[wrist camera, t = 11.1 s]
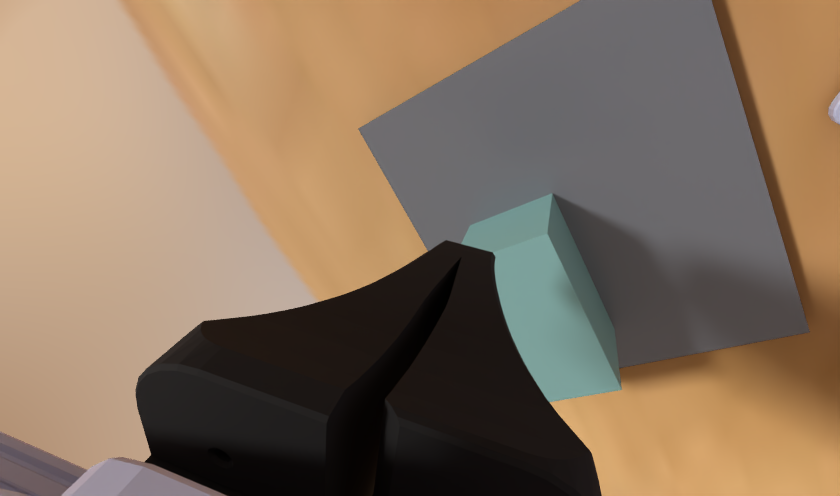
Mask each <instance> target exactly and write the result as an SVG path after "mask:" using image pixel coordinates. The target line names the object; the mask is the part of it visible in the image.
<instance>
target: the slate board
mask: <svg viewBox="0 0 840 496" xmlns="http://www.w3.org/2000/svg"><path fill="white" fill-rule="evenodd" d="M359 131H360V133H361V135H362V136H363V138H364V140H365V142H366V143H367V145H368V147H369V149H370V150H371V152H372V154H373V156H374V157H375V159H376V161H377V163H378V164H379V166H380V168H381V170H382V171H383V173H384V175H385V177H386V178H387V180H388V182H389V184H390V185H391V187H392V189H393V191H394V192H395V194H396V196H397V198H398V199H399V201H400V203H401V205H402V206H403V208H404V210H405V212H406V213H407V215H408V217H409V219H410V220H411V222H412V224H413V226H414V227H415V229H416V231H417V233H418V234H419V236H420V238H421V240H422V241H423V243H424V245H425V247H426V248H427V250H428V251H429V250H431V249H432V248H434V247H435V246H437V245H438V244H440V243H442V242H443V241H445V240H448V241H452V242H455V243H459V244H461V243H462V241H463V239H464V237H465V235H466V233H467V231H468V229H469V226H470V225H472V224H475V223H477V222H480V221H483V220H485V219H488V218H490V217H493V216H495V215H498V214H500V213H503V212H506V211H508V210H511V209H513V208H516V207H518V206H521V205H523V204H526V203H529V202H531V201H534V200H536V199H539V198H541V197H544V196H546V195H549V194H553V196H554V198H555V200H556V202H557V204H558V207H559V209H560V211H561V213H562V215H563V217H564V220H565V222H566V224H567V226H568V228H569V231H570V233H571V235H572V237H573V239H574V241H575V244H576V246H577V248H578V250H579V252H580V255H581V257H582V259H583V261H584V263H585V265H586V268H587V270H588V272H589V274H590V276H591V279H592V281H593V283H594V285H595V287H596V289H597V292H598V294H599V296H600V298H601V300H602V303H603V305H604V307H605V309H606V311H607V313H608V316H609V318H610V320H611V322H612V324H613V327H614V329H615V337H616V345H617V354H618V362H619V368H623V367H628V366H634V365H639V364H644V363H649V362H655V361H660V360H665V359H671V358H676V357H681V356H686V355H692V354H697V353H702V352H708V351H713V350H718V349H724V348H729V347H734V346H739V345H745V344H750V343H755V342H761V341H766V340H771V339H777V338H782V337H787V336H792V335H798V334H803V333H808V332H810V331H809V327H808V324H807V321H806V317H805V314H804V311H803V307H802V304H801V300H800V297H799V294H798V290H797V287H796V284H795V280H794V277H793V273H792V270H791V267H790V263H789V260H788V257H787V253H786V250H785V246H784V243H783V240H782V236H781V233H780V230H779V226H778V223H777V220H776V216H775V213H774V209H773V206H772V203H771V199H770V196H769V193H768V189H767V186H766V182H765V179H764V176H763V172H762V169H761V166H760V162H759V159H758V155H757V152H756V149H755V145H754V142H753V139H752V135H751V132H750V128H749V125H748V122H747V118H746V115H745V112H744V108H743V105H742V101H741V98H740V95H739V91H738V88H737V85H736V81H735V78H734V75H733V71H732V68H731V64H730V61H729V58H728V54H727V51H726V48H725V44H724V41H723V37H722V34H721V31H720V27H719V24H718V21H717V17H716V14H715V10H714V7H713V4H712V0H580V1H579V2H577V3H575V4H574V5H572V6H570V7H568V8H567V9H565V10H563V11H561V12H560V13H558V14H556V15H554V16H553V17H551V18H549V19H548V20H546V21H544V22H542V23H541V24H539V25H537V26H535V27H534V28H532V29H530V30H528V31H527V32H525V33H523V34H522V35H520V36H518V37H516V38H515V39H513V40H511V41H509V42H508V43H506V44H504V45H502V46H501V47H499V48H497V49H496V50H494V51H492V52H490V53H489V54H487V55H485V56H483V57H482V58H480V59H478V60H476V61H475V62H473V63H471V64H470V65H468V66H466V67H464V68H463V69H461V70H459V71H457V72H456V73H454V74H452V75H450V76H449V77H447V78H445V79H444V80H442V81H440V82H438V83H437V84H435V85H433V86H431V87H430V88H428V89H426V90H424V91H423V92H421V93H419V94H418V95H416V96H414V97H412V98H411V99H409V100H407V101H405V102H404V103H402V104H400V105H398V106H397V107H395V108H393V109H392V110H390V111H388V112H386V113H385V114H383V115H381V116H379V117H378V118H376V119H374V120H372V121H371V122H369V123H367V124H366V125H364V126H362V127H360V128H359Z"/></svg>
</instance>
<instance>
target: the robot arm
mask: <svg viewBox="0 0 840 496" xmlns="http://www.w3.org/2000/svg"><path fill="white" fill-rule="evenodd" d="M828 115H829V117H830V119H831V120H832V121H834V122H835V123H837V124H839V125H840V92H839V93H838V95H837V96H836V97H835V98H834V100H833V101H832V103H831V105H830V107H829V112H828ZM495 258H496V257H495V255H494V254H493V252H490V251H486V250H482V249H478V248H474V247H471V246H467V245H463V244H459V243H455V242H452V241H448V240H445V241H443V242H442V243H440V244H438V245H437V246H435V247H434V248H432V249H431V250H429V251H428V252H426V253H425V254H423V255H422V256H420V257H419V258H417V259H415V260H414V261H412V262H411V263H409V264H407V265H406V266H404V267H402V268H401V269H399V270H397V271H395V272H393V273H391V274H390V275H388V276H386V277H384V278H382V279H380V280H378V281H376V282H374V283H372V284H369V285H367V286H365V287H362V288H360V289H357V290H355V291H352V292H349V293H347V294H344V295H341V296H338V297H334V298H331V299H328V300H324V301H321V302H317V303H314V304H310V305H307V306H303V307H298V308H294V309H289V310H285V311H279V312H274V313H269V314H262V315H256V316H247V317H239V318H229V319H220V320H210V321H204V322H202V323H201V324H199V325H198V326H197V327H195V328H194V329H193V330H192V331H191V332H189V333H188V334H187V335H186V336H185V337H183V338H182V339H181V340H180V341H179V342H177V343H176V344H175V345H174V346H173V347H172V348H170V349H169V350H168V351H167V352H166V353H165V354H163V355H162V356H161V357H160V358H159V359H157V360H156V361H155V362H154V363H153V364H152V365H150V366H149V367H148V368H147V369H146V370H145V371H144V372H143V373H142V374H141V375H140V376H139V378H138V382H137V386H136V400H137V407H138V411H139V415H140V417H141V421H142V425H143V428H144V431H145V435H146V438H147V441H148V445H149V448H150V452H151V456H150V457H149V458H148V459H147V460H146V461H145V462H141V461H137V460H132V459H128V458H124V457H118V458H109V459H107V460H105V461H103V462H101V463H98V464H96V465H94V466H92V467H91V468H90V469H88V470H86V469H84V468H82V467H80V466H77V465H75V464H73V463H70V462H68V461H66V460H64V459H61V458H59V457H57V456H54V455H52V454H50V453H48V452H45V451H43V450H41V449H39V448H36V447H34V446H32V445H30V444H27V443H25V442H23V441H21V440H18V439H16V438H14V437H11V436H9V435H7V434H5V433H2V432H0V496H601V490H600V485H599V480H598V476H597V472H596V468H595V464H594V460H593V457H592V454H591V452H590V450H589V449H588V448H587V447H586V446H585V445H584V443H583V442H582V441H581V440H580V439H579V438H578V437H577V435H576V434H575V433H574V432H573V431H572V430H571V429H570V427H569V426H568V425H567V424H566V423H565V422H564V421H563V419H562V418H561V417H560V416H559V415H558V413H557V412H556V411H555V409H554V408H553V407H552V405H551V404H550V403H549V401H548V400H547V399H546V397H545V396H544V394H543V393H542V391H541V389H540V388H539V386H538V385H537V383H536V381H535V380H534V378H533V377H532V375H531V373H530V372H529V370H528V369H527V367H526V365H525V363H524V361H523V359H522V357H521V355H520V353H519V351H518V349H517V347H516V345H515V342H514V340H513V338H512V336H511V333H510V331H509V328H508V325H507V322H506V319H505V316H504V313H503V310H502V307H501V303H500V299H499V294H498V290H497V285H496V279H495Z"/></svg>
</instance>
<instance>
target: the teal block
mask: <svg viewBox="0 0 840 496" xmlns="http://www.w3.org/2000/svg"><path fill="white" fill-rule="evenodd" d="M461 244H463V245H467V246H471V247H474V248H478V249H482V250H486V251H490V252H493V254H494V255H495V257H496V258H495V279H496V285H497V290H498V294H499V299H500V303H501V307H502V310H503V313H504V316H505V319H506V322H507V325H508V328H509V331H510V333H511V336H512V338H513V340H514V342H515V345H516V347H517V349H518V351H519V353H520V355H521V357H522V359H523V361H524V363H525V365H526V367H527V369H528V370H529V372H530V373H531V375H532V377H533V378H534V380H535V381H536V383H537V385H538V386H539V388H540V389H541V391H542V393H543V394H544V396H545V397H546V399H547V400H548V401H549V402H552V401H558V400H564V399H570V398H576V397H582V396H588V395H594V394H600V393H606V392H612V391H618V390H622V388H621V379H620V371H619V362H618V354H617V345H616V337H615V329H614V327H613V324H612V322H611V320H610V318H609V316H608V313H607V311H606V309H605V307H604V305H603V303H602V300H601V298H600V296H599V294H598V292H597V289H596V287H595V285H594V283H593V281H592V279H591V276H590V274H589V272H588V270H587V268H586V265H585V263H584V261H583V259H582V257H581V255H580V252H579V250H578V248H577V246H576V244H575V241H574V239H573V237H572V235H571V233H570V231H569V228H568V226H567V224H566V222H565V220H564V217H563V215H562V213H561V211H560V209H559V207H558V204H557V202H556V200H555V198H554V196H553V194H549V195H546V196H544V197H541V198H539V199H536V200H534V201H531V202H529V203H526V204H523V205H521V206H518V207H516V208H513V209H511V210H508V211H506V212H503V213H500V214H498V215H495V216H493V217H490V218H488V219H485V220H483V221H480V222H477V223H475V224H472V225H470V226H469V229H468V231H467V233H466V235H465V237H464V239H463V241H462V243H461Z"/></svg>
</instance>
